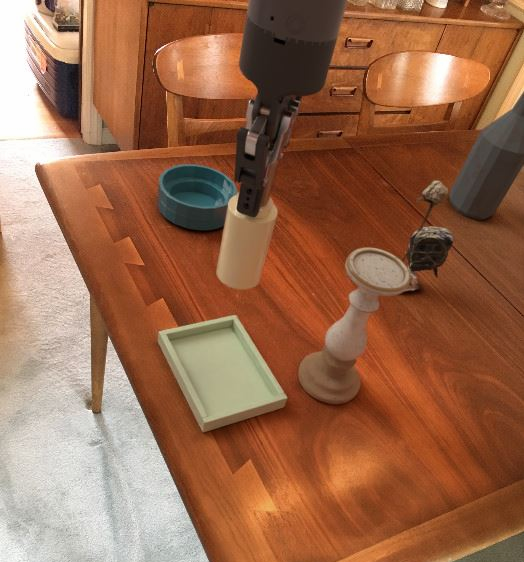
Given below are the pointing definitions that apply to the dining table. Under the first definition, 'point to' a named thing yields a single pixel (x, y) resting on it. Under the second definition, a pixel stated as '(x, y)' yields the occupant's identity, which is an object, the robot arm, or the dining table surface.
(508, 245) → the dining table surface
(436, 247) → the stone bird figurine
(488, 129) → the bottle
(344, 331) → the candle holder
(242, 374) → the tray
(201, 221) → the bowl
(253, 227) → the stoneware bottle
